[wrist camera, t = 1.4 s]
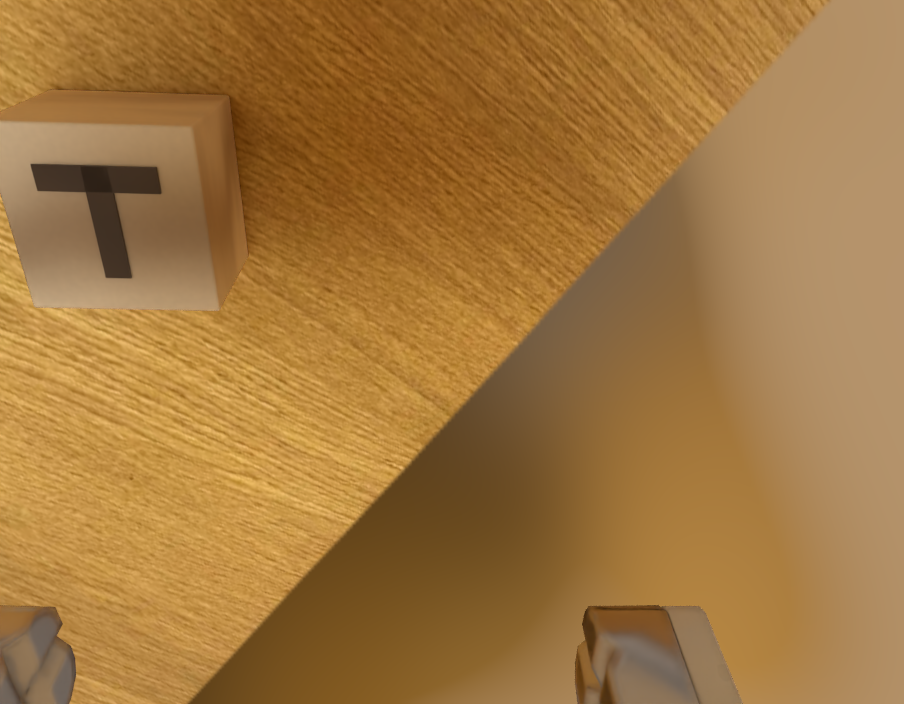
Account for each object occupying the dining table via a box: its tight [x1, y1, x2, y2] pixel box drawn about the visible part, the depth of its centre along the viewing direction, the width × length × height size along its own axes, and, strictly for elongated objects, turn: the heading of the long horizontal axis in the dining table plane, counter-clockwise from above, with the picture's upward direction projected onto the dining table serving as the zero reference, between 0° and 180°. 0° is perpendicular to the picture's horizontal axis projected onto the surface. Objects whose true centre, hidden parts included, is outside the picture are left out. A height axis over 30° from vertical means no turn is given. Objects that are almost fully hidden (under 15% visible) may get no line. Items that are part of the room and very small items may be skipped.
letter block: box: [0, 89, 248, 311], centre depth 24 cm, size 6×6×5 cm
